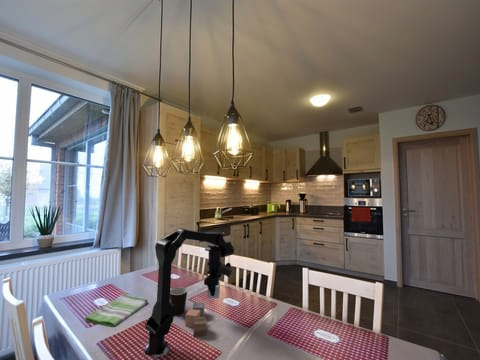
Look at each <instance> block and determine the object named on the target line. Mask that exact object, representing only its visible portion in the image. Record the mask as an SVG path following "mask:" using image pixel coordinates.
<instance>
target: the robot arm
mask: <svg viewBox="0 0 480 360" xmlns="http://www.w3.org/2000/svg"><path fill="white" fill-rule="evenodd" d="M186 240H190V241H191V240H192V241H199V242H204V243H207V244H208V245H207V246H206V247H205V248H204V251H207V252H208V258H207V259H208V261H207V273H206V275H207V276H205V277H204V280H203V285H204V286H207V290H208V289H209V291H210V293H211V296H214V294H215V289H216V286H217V285H218V284H219V283H220V279H221V277H222V275H224V276H226V277H228V278H230V277H231V274H232V272H233V266H231V265H232V264H231V262H226V263H224V264H223V262H222V260H221V258H225V257H230V256H233V255H234V253H235V248H234V246H233V244H232V242H231V241H225V238H224V236H223V234H222V233H220V232H217V231H216V232H215V231H205V232H201V231H195V230H189V229H185V228H183V227H182V228H181V227H180V228H178V229H176V230H175V231H174V232H172V233H169V234H168V235H166V236H165V237H163V238H161V239H159V240H157V242H156V243H155V246H154V249H155V250H154V251H155V256H156V259H157V262H158V273H157V275H158V276H157V289H156V290H157V291H156V302H155V304H154V306H152V313H151V315H150V317H149V318H148V319H147V321H146V322H145V324H144V327H145V329H146V330H147V331H148V346H147V348H146V349H145V350H144V354H145V355H163V353H164V351H165V349H166V348H167V345H168V343H169V341H166V336H167V335H168V334H169V333H170V330H171V327H172V323H173V322H174V318H175V317H176V315H175V305H173V304H172V303H170V290H171V285H172V283H171V282H172V264H173V262H174V260H175V259H176V255H177V251H178V250H179V249H180V248H181V247H182V246H183V244H184V242H185V241H186Z"/></svg>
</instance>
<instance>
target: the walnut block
mask: <svg viewBox="0 0 480 360" xmlns="http://www.w3.org/2000/svg"><path fill="white" fill-rule="evenodd" d="M192 335H193V337H206V336H207V316H204V317H195V318H194V327H193V334H192Z"/></svg>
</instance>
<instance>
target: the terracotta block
mask: <svg viewBox="0 0 480 360" xmlns="http://www.w3.org/2000/svg"><path fill="white" fill-rule="evenodd" d="M195 317H200V310H193V308H192V309H191V308H189V310H187V312H186V314H185V322H184V323H185V325H184V326H185V327H187V328H194V318H195Z"/></svg>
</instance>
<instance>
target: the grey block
mask: <svg viewBox="0 0 480 360" xmlns="http://www.w3.org/2000/svg"><path fill="white" fill-rule="evenodd" d="M192 309H193V310H200V317H205V316H204V315H205V302H201V301H200V302H194V303H193V306H192Z"/></svg>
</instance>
